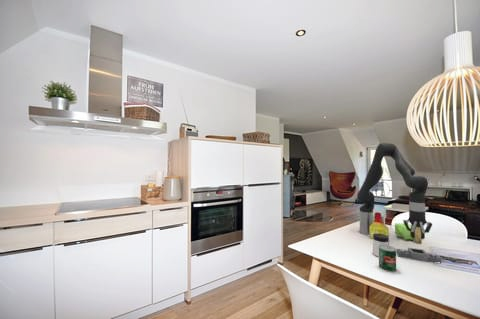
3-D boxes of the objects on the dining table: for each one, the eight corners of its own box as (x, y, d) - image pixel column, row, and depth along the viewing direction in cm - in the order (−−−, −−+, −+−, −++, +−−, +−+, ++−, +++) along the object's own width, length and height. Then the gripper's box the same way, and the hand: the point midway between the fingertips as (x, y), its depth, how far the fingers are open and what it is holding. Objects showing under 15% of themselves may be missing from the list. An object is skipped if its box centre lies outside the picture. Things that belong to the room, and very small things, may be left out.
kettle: (417, 243, 149) (417, 227, 149) (392, 238, 159) (392, 223, 159) (419, 238, 160) (419, 223, 160) (396, 233, 170) (396, 219, 170)
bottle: (368, 238, 160) (368, 211, 160) (370, 236, 164) (370, 210, 164) (387, 243, 151) (387, 214, 151) (389, 240, 155) (389, 213, 155)
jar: (374, 257, 130) (374, 237, 130) (370, 251, 138) (370, 232, 138) (391, 259, 127) (391, 238, 127) (387, 253, 135) (386, 234, 135)
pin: (414, 243, 127) (414, 226, 127) (412, 241, 131) (412, 224, 131) (422, 244, 126) (422, 227, 126) (420, 242, 129) (420, 225, 129)
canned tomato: (390, 273, 112) (390, 252, 112) (375, 266, 119) (375, 246, 119) (399, 269, 115) (399, 249, 115) (384, 263, 122) (384, 244, 122)
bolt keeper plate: (398, 257, 129) (398, 250, 129) (396, 252, 136) (396, 245, 136) (441, 264, 120) (441, 256, 120) (436, 258, 127) (436, 251, 127)
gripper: (403, 209, 128) (404, 238, 128) (434, 212, 122) (435, 242, 122) (401, 207, 135) (401, 234, 135) (430, 209, 129) (430, 238, 128)
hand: (417, 238), depth 128 cm, fingers closed on pin, 3 cm apart
